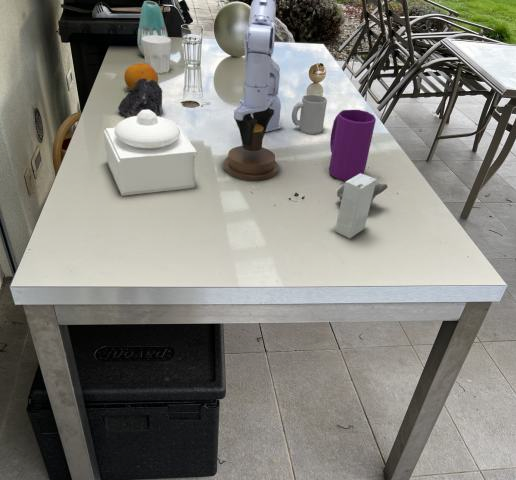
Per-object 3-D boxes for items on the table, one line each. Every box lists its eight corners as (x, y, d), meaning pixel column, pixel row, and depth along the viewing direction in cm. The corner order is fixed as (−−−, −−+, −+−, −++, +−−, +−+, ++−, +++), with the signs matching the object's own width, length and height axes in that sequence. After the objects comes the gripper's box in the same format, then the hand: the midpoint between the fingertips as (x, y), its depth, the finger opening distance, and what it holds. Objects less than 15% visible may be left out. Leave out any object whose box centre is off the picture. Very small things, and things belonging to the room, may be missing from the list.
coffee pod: (249, 141, 136) (250, 121, 133) (265, 147, 134) (267, 127, 131) (238, 147, 133) (239, 127, 130) (254, 153, 131) (256, 132, 128)
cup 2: (325, 134, 158) (330, 103, 152) (293, 134, 156) (297, 103, 150) (318, 124, 163) (322, 94, 157) (287, 125, 161) (290, 94, 155)
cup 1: (170, 75, 188) (168, 44, 181) (141, 73, 188) (139, 41, 181) (173, 67, 195) (172, 36, 189) (146, 64, 195) (144, 34, 188)
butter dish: (107, 163, 133) (99, 97, 123) (177, 157, 139) (175, 93, 128) (121, 196, 122) (113, 126, 111) (197, 187, 128) (196, 120, 117)
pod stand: (255, 153, 145) (256, 140, 142) (288, 173, 137) (290, 159, 135) (213, 163, 138) (213, 150, 135) (245, 185, 130) (246, 171, 128)
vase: (175, 58, 204) (173, 3, 192) (151, 62, 197) (148, 6, 185) (156, 50, 209) (153, -3, 197) (132, 55, 203) (127, -1, 190)
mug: (337, 183, 135) (347, 123, 125) (314, 157, 145) (322, 100, 135) (369, 180, 137) (382, 121, 127) (344, 155, 148) (355, 99, 138)
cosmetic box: (348, 222, 121) (359, 171, 112) (365, 229, 119) (377, 178, 110) (333, 232, 117) (343, 180, 109) (350, 240, 115) (362, 187, 107)
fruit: (134, 83, 179) (131, 57, 174) (163, 88, 177) (162, 62, 172) (119, 92, 171) (117, 65, 166) (150, 98, 170) (148, 71, 164)
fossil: (371, 196, 131) (379, 164, 126) (387, 214, 125) (396, 182, 119) (329, 198, 128) (335, 166, 123) (343, 217, 122) (350, 185, 117)
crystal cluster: (122, 125, 154) (121, 90, 147) (114, 104, 162) (114, 70, 155) (167, 126, 158) (169, 92, 151) (158, 106, 167) (159, 73, 160)
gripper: (259, 73, 130) (255, 129, 139) (224, 86, 120) (222, 145, 130) (284, 80, 127) (278, 136, 136) (249, 94, 118) (246, 154, 127)
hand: (252, 141), depth 133 cm, fingers closed on coffee pod, 5 cm apart
